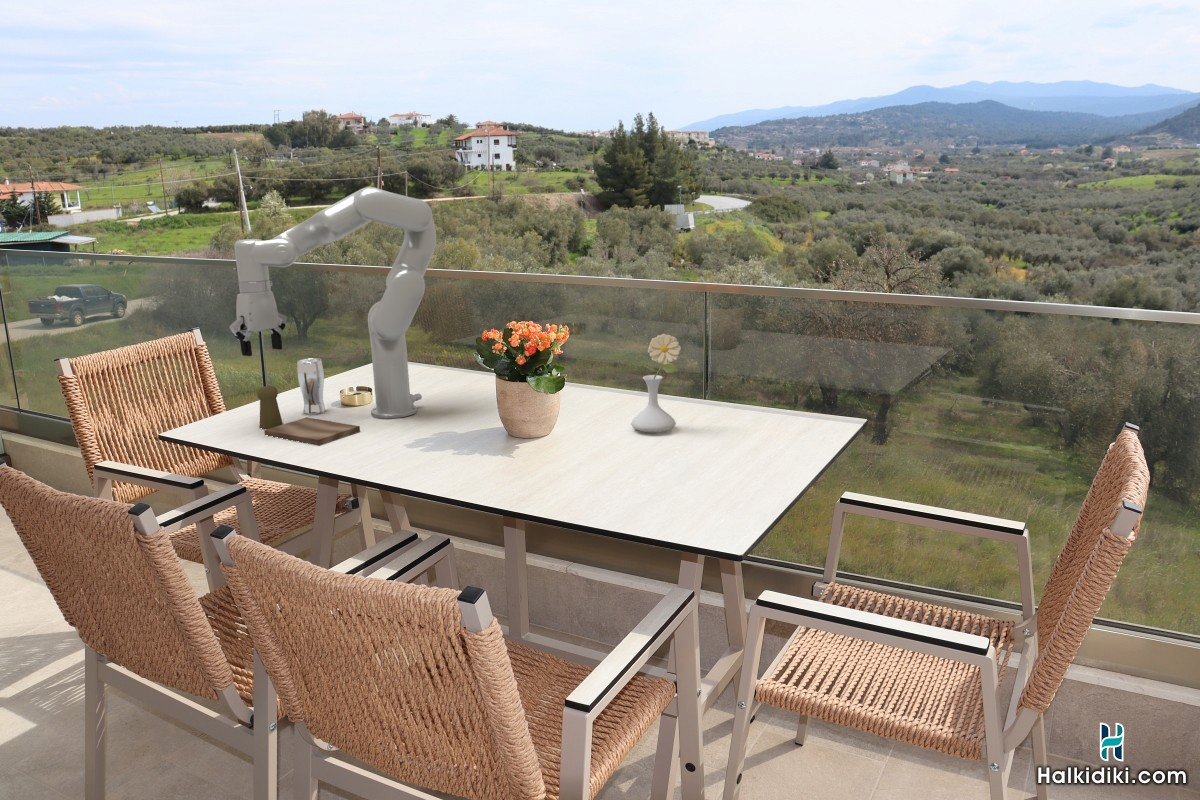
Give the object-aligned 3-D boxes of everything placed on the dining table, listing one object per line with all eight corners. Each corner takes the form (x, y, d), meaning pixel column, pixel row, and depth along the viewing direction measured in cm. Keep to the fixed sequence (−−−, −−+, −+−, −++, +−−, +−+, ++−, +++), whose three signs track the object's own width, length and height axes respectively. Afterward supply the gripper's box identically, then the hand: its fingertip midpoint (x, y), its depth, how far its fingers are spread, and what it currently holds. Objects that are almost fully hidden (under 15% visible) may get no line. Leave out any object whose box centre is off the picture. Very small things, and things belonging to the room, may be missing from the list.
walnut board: (307, 422, 248) (306, 417, 248) (360, 431, 238) (359, 426, 238) (265, 435, 237) (264, 430, 236) (318, 445, 227) (318, 439, 226)
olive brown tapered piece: (275, 429, 242) (270, 389, 240) (254, 429, 243) (250, 389, 241) (287, 423, 248) (282, 384, 245) (267, 423, 249) (262, 383, 246)
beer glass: (296, 414, 258) (290, 362, 254) (312, 408, 264) (307, 357, 260) (316, 416, 255) (311, 363, 251) (332, 410, 261) (327, 358, 258)
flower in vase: (625, 434, 229) (623, 336, 223) (638, 422, 240) (637, 328, 234) (675, 438, 225) (674, 338, 219) (687, 426, 235) (686, 330, 229)
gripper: (272, 283, 246) (279, 345, 250) (216, 291, 231) (225, 357, 235) (291, 284, 242) (298, 347, 246) (236, 292, 227) (244, 359, 232)
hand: (262, 352), depth 241 cm, fingers open, 9 cm apart
